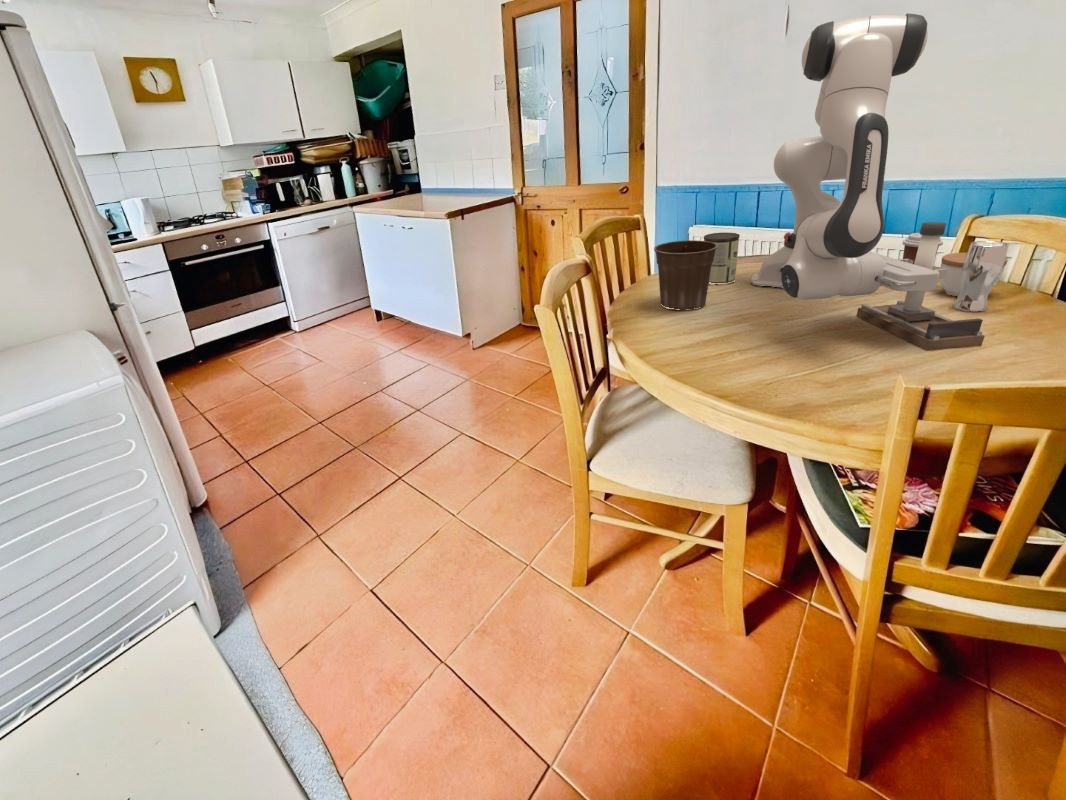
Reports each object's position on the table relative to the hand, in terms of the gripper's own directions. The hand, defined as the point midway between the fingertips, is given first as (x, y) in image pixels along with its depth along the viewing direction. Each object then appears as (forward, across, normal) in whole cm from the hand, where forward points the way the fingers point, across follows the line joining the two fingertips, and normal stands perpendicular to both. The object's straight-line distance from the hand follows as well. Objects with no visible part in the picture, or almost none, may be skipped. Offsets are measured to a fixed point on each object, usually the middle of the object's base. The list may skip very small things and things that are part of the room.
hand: (926, 267), depth 107 cm
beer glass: (+19, +8, +13) cm, 25 cm away
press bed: (-1, -2, +13) cm, 13 cm away
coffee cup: (+26, +36, +13) cm, 46 cm away
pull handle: (-1, 0, +11) cm, 11 cm away
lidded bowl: (+27, +18, +13) cm, 35 cm away
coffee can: (-24, +52, +13) cm, 59 cm away
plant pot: (-42, +31, +13) cm, 54 cm away
